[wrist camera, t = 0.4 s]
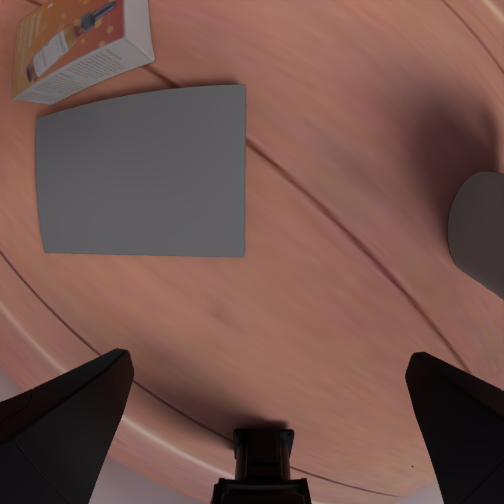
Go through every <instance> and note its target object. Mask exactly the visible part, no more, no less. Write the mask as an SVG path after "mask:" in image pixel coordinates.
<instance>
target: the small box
mask: <svg viewBox="0 0 504 504" xmlns="http://www.w3.org/2000/svg"><path fill="white" fill-rule="evenodd" d="M154 60H155V58H154V52H153V49H152V41H151V32H150V22H149V8H148V0H50V1H48V2H47V3H45V4H44V5H42V6H41V7H39V8H38V9H36V10H35V11H33V12H32V13H31V14H29V15H28V16H27V17H25V18H24V19H23V20H21V21H20V22H19V23H18V29H17V38H16V46H15V55H14V65H13V81H12V99H14V100H22V101H28V102H35V103H42V104H48V105H54V104H56V103H58V102H59V101H61V100H63V99H65V98H67V97H69V96H71V95H73V94H75V93H77V92H79V91H81V90H83V89H86V88H88V87H90V86H92V85H95V84H97V83H99V82H101V81H104V80H106V79H108V78H111V77H113V76H116V75H118V74H121V73H123V72H126V71H129V70H131V69H134V68H137V67H140V66H143V65H146V64H149V63H152V62H154Z"/></svg>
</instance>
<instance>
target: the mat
mask: <svg viewBox="0 0 504 504" xmlns="http://www.w3.org/2000/svg"><path fill="white" fill-rule="evenodd" d="M245 144H246V86H245V84H242V85H213V86H197V87H185V88H175V89H167V90H159V91H151V92H145V93H138V94H132V95H127V96H121V97H116V98H111V99H106V100H102V101H97V102H93V103H89V104H85V105H81V106H77V107H73V108H69V109H66V110H62V111H59V112H56V113H52V114H49V115H46V116H43V117H40V118H37V119H36V138H35V165H36V188H37V201H38V211H39V220H40V228H41V235H42V242H43V248H44V253H73V254H110V255H150V256H194V257H243V258H244V255H245Z"/></svg>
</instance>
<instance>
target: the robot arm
mask: <svg viewBox="0 0 504 504" xmlns="http://www.w3.org/2000/svg"><path fill="white" fill-rule="evenodd" d="M133 378H134V368H133V365H132V361H131V357H130V353H129V351H128V350H125V349H118V348H117V349H114V350H112V351H110V352H108V353H106V354H104V355H102V356H100V357H98V358H96V359H94V360H91V361H89V362H87V363H85V364H83V365H81V366H79V367H77V368H75V369H73V370H71V371H69V372H67V373H64V374H62V375H60V376H58V377H56V378H54V379H52V380H50V381H48V382H45V383H43V384H41V385H39V386H37V387H35V388H34V389H30V390H28V391H26V392H24V393H22V394H19V395H17V396H15V397H12V398H10V399H7V400H4V401H2V402H0V504H88V503H89V500H90V498H91V495H92V492H93V489H94V487H95V484H96V481H97V478H98V475H99V473H100V470H101V468H102V465H103V463H104V460H105V457H106V455H107V452H108V450H109V447H110V445H111V442H112V440H113V437H114V435H115V432H116V430H117V427H118V425H119V423H120V420H121V418H122V415H123V412H124V409H125V405H126V402H127V398H128V395H129V391H130V388H131V385H132V381H133ZM405 379H406V383H407V387H408V390H409V394H410V397H411V401H412V405H413V409H414V412H415V416H416V419H417V422H418V424H419V427H420V430H421V432H422V435H423V438H424V441H425V444H426V447H427V450H428V453H429V455H430V459H431V462H432V465H433V468H434V471H435V474H436V477H437V481H438V484H439V488H440V491H441V494H442V498H443V501H444V504H504V391H502V390H501V389H499V388H497V387H495V386H493V385H491V384H489V383H487V382H485V381H483V380H481V379H479V378H477V377H475V376H473V375H471V374H469V373H467V372H465V371H463V370H460V369H458V368H456V367H454V366H452V365H450V364H448V363H446V362H444V361H442V360H440V359H438V358H436V357H434V356H432V355H430V354H428V353H426V352H416V353H414V354H413V355H412V356H411V359H410V362H409V365H408V367H407V370H406V374H405ZM233 439H234V454H235V459H236V471H235V480H232V479H225V478H219V482H218V483H217V484H214V490H213V496H212V500H211V502H210V504H312V503H311V498H310V493H309V488H308V483H307V479H306V478H301V479H295V480H291V479H290V463H289V458H290V454H291V449H292V444H293V439H294V430H292V429H282V430H260V429H235V430H234V431H233Z"/></svg>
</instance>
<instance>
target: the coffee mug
mask: <svg viewBox="0 0 504 504" xmlns="http://www.w3.org/2000/svg"><path fill="white" fill-rule="evenodd" d="M447 232H448V244H449V249H450V253H451V256H452V258H453V260H454V262H455V264H456V265H457V267H458V268H459V269H460V270H461V271H463V272H464V273H466V274H467V275H469V276H470V277H472V278H473V279H475V280H476V281H478V282H479V283H480V284H482V285H483V286H485V287H486V288H488V289H489V290H490V291H492V292H493V293H495V294H496V295H497V296H499V297H500V298H501V299H503V300H504V174H501V173H495V172H487V171H482V172H478V173H475V174H473V175H472V176H470V177H469V178H468V179H467V180H466V181H465V182H464V183H463V184H462V186H461V187H460V188H459V190H458V192H457V194H456V196H455V198H454V201H453V203H452V206H451V210H450V214H449V220H448V231H447Z"/></svg>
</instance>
